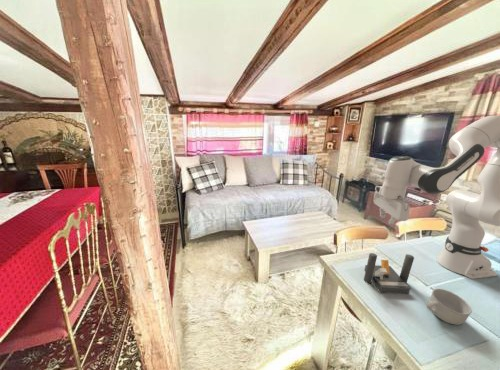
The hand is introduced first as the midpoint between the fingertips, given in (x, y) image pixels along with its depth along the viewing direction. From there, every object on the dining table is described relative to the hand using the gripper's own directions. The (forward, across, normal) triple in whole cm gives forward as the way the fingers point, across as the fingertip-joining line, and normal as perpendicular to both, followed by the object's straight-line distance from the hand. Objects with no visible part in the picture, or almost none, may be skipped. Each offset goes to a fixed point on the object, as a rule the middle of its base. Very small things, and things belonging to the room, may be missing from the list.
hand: (386, 220), depth 94 cm
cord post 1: (+27, -8, +8) cm, 30 cm away
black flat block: (+27, -8, 0) cm, 28 cm away
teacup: (+27, -26, -11) cm, 39 cm away
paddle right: (+24, -8, +4) cm, 26 cm away
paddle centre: (+24, -8, 0) cm, 26 cm away
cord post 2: (+27, -8, -8) cm, 30 cm away
